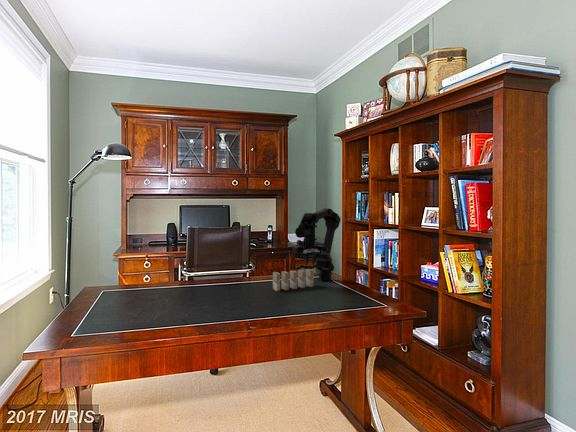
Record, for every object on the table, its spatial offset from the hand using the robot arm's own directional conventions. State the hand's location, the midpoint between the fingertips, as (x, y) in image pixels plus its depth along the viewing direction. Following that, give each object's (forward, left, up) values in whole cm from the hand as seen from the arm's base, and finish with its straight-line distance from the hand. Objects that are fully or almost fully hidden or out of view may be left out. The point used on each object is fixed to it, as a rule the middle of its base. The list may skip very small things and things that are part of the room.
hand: (309, 264), depth 210 cm
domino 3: (+10, 0, -12) cm, 15 cm away
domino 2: (+15, 0, -12) cm, 19 cm away
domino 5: (0, 0, -12) cm, 12 cm away
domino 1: (+20, 0, -12) cm, 23 cm away
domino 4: (+5, 0, -12) cm, 13 cm away
